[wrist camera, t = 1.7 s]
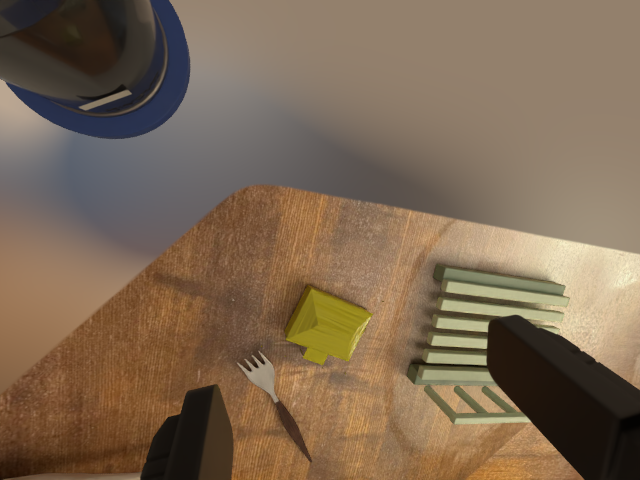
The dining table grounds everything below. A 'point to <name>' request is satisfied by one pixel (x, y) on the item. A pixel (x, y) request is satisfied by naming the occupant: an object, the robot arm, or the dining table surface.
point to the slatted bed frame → (479, 376)
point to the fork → (274, 396)
